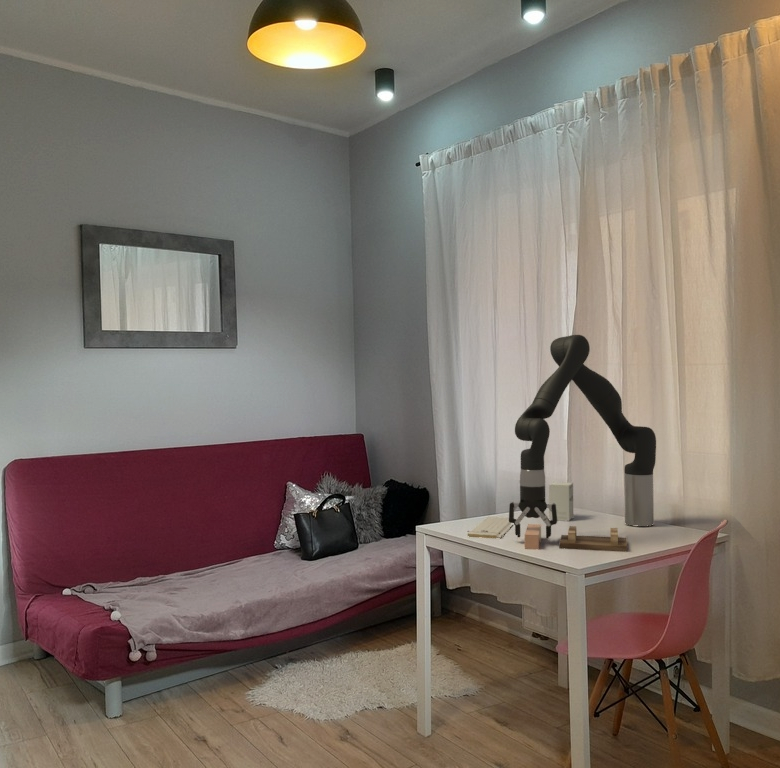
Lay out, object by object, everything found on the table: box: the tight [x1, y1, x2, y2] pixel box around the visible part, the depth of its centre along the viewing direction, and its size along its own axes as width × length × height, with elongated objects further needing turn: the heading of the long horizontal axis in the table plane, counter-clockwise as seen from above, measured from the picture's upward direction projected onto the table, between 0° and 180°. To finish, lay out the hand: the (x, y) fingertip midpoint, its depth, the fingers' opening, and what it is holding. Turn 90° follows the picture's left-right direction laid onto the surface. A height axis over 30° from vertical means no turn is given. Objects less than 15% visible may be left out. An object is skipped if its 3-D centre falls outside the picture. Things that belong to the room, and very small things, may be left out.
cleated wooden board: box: [558, 525, 628, 552], centre depth 223 cm, size 12×19×4 cm, turn 74°
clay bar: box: [524, 523, 542, 550], centre depth 226 cm, size 16×4×4 cm, turn 166°
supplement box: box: [548, 481, 574, 521], centre depth 265 cm, size 7×7×13 cm
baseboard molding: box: [467, 516, 513, 540], centre depth 250 cm, size 31×3×12 cm
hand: (533, 537), depth 226 cm, fingers open, 8 cm apart
